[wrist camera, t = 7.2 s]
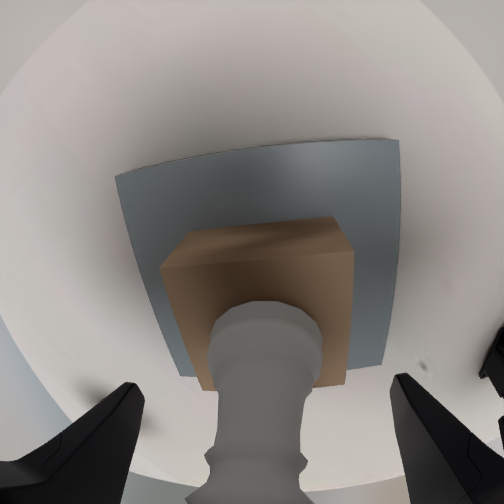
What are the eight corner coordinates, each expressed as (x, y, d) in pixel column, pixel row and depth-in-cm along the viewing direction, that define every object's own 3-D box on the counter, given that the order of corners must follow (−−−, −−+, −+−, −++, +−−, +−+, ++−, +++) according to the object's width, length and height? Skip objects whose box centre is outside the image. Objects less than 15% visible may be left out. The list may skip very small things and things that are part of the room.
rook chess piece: (197, 301, 11) (114, 504, 3) (315, 283, 10) (349, 524, 3) (228, 378, 12) (195, 539, 5) (325, 367, 12) (340, 541, 4)
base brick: (333, 216, 13) (353, 250, 9) (333, 332, 16) (344, 384, 12) (189, 231, 14) (159, 268, 10) (216, 340, 17) (202, 390, 13)
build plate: (387, 138, 12) (398, 140, 11) (376, 349, 18) (381, 364, 16) (128, 171, 14) (114, 176, 13) (185, 361, 20) (180, 376, 18)
